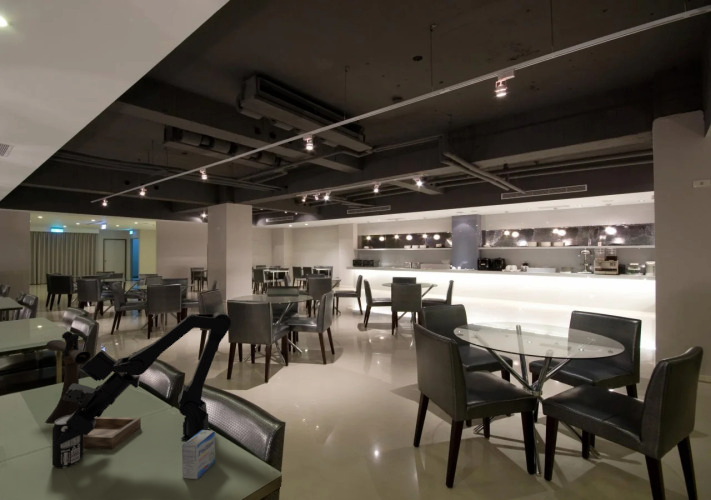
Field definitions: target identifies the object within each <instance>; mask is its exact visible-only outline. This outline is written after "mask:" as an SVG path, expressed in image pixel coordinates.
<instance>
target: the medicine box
mask: <svg viewBox="0 0 711 500" xmlns="http://www.w3.org/2000/svg"><path fill="white" fill-rule="evenodd" d="M181 455H182V458H181V461H182V462H181V463H182V464H181V466H182V467H181V468H182V469H181V470H182V471H181V473H182V474H181V475H182V476H181V477H182V478H184V479H190V480H199V479H200V477H202V476H203V475H204V473H206V471H207V470H209V468H211V466H213V464H215V462H216V431H214V430H211V431H209V430H201V431H200V432H198V433H197V434H196V435H195V436H193V437H192V438H191V439H189V440H186V441H185V442H184V443H182V445H181Z"/></svg>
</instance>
